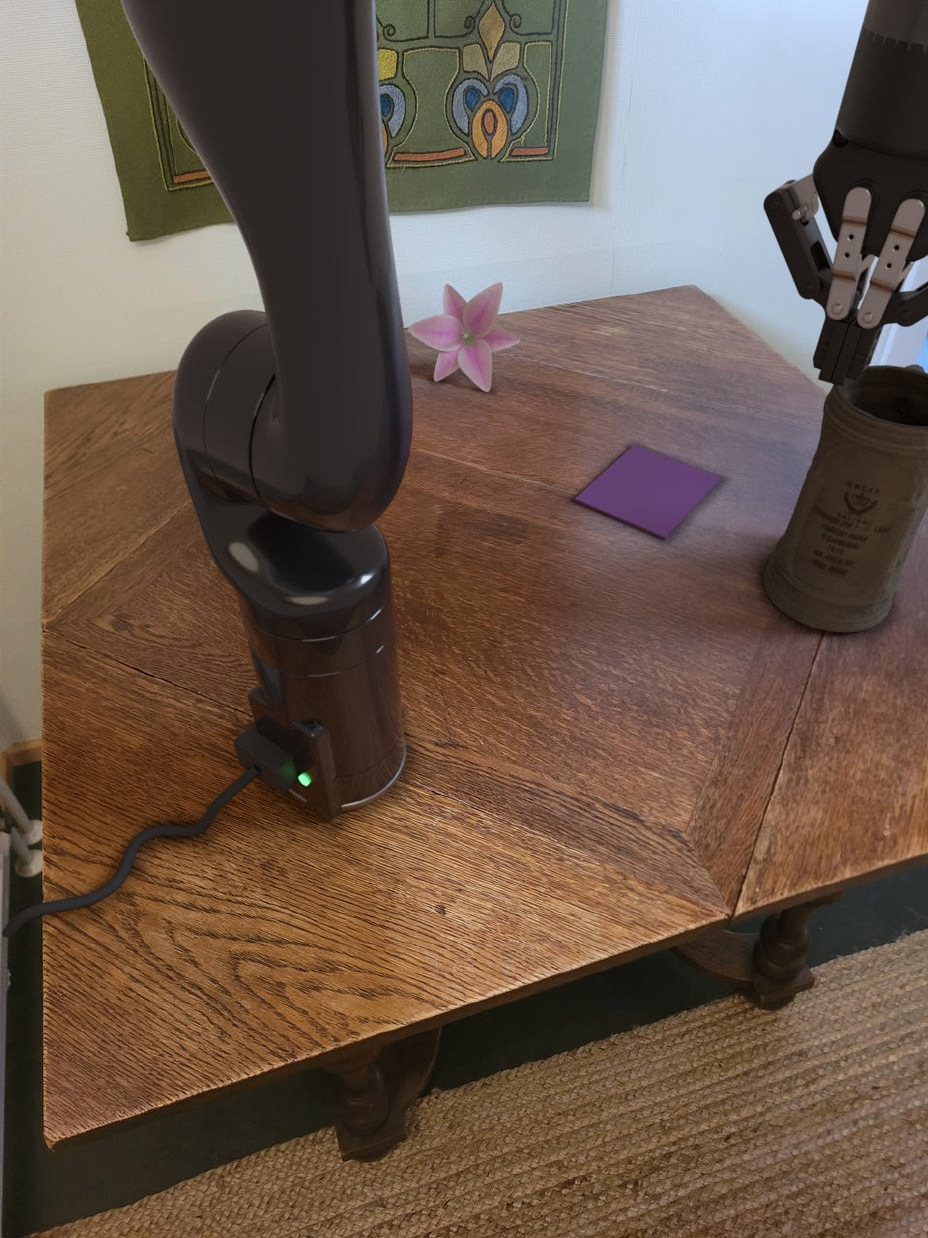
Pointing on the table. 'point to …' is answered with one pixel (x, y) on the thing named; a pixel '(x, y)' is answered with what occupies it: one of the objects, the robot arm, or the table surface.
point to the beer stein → (856, 504)
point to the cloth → (648, 490)
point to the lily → (466, 334)
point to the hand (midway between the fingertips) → (836, 378)
